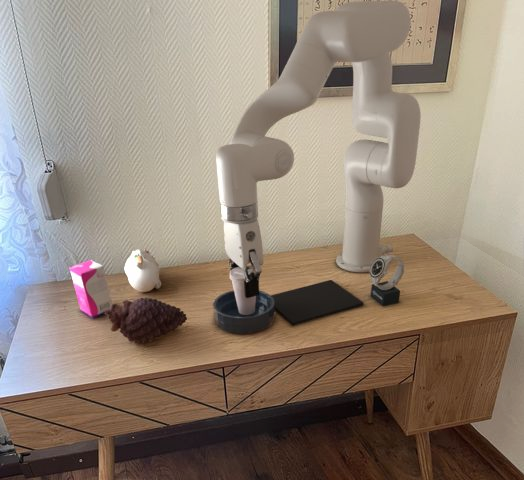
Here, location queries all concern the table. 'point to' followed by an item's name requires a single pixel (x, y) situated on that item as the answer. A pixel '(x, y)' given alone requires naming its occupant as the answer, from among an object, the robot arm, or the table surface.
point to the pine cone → (145, 319)
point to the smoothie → (242, 291)
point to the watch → (386, 290)
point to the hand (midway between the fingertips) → (245, 288)
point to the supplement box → (91, 288)
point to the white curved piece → (142, 271)
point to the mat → (314, 302)
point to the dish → (243, 324)
